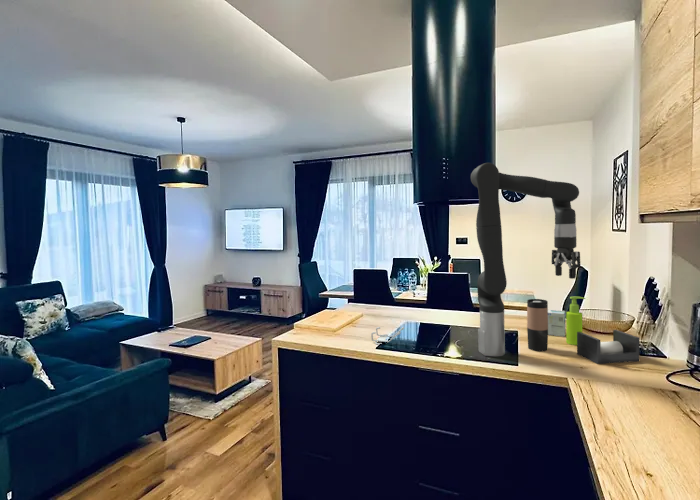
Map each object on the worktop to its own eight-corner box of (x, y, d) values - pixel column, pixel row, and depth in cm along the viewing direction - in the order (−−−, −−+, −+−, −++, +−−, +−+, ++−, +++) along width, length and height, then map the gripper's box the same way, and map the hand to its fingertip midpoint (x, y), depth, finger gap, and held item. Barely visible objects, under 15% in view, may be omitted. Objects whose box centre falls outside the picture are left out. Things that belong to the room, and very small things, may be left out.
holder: (597, 364, 136) (597, 340, 136) (577, 354, 147) (577, 331, 147) (639, 361, 137) (639, 337, 137) (616, 351, 148) (616, 329, 148)
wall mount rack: (378, 335, 183) (377, 323, 183) (405, 337, 179) (405, 324, 179) (369, 345, 168) (369, 332, 168) (399, 347, 164) (399, 333, 164)
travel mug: (547, 346, 157) (547, 299, 156) (548, 352, 150) (548, 302, 149) (527, 345, 160) (526, 298, 159) (527, 350, 153) (527, 301, 152)
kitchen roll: (598, 347, 138) (589, 339, 143) (595, 359, 140) (586, 351, 145) (627, 346, 139) (616, 338, 144) (623, 357, 141) (613, 349, 146)
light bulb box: (565, 333, 175) (565, 310, 174) (565, 337, 169) (565, 313, 169) (540, 330, 181) (540, 308, 180) (538, 334, 175) (538, 311, 174)
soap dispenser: (587, 345, 156) (587, 298, 155) (569, 345, 158) (569, 298, 157) (581, 341, 162) (581, 295, 161) (564, 341, 164) (564, 295, 162)
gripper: (545, 235, 154) (545, 275, 155) (567, 236, 139) (567, 279, 140) (563, 235, 154) (563, 274, 155) (587, 235, 140) (587, 279, 141)
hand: (565, 277), depth 148 cm, fingers open, 8 cm apart
